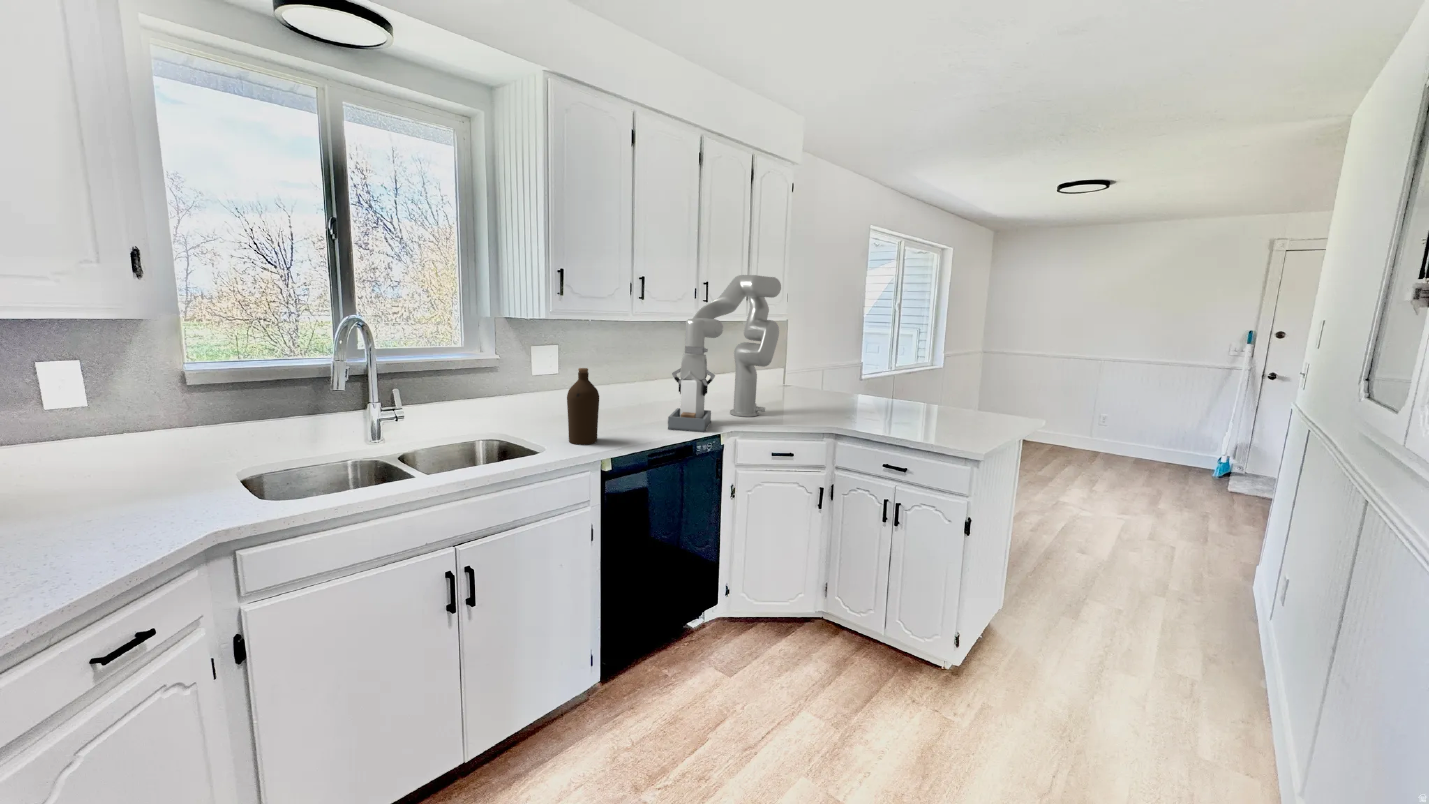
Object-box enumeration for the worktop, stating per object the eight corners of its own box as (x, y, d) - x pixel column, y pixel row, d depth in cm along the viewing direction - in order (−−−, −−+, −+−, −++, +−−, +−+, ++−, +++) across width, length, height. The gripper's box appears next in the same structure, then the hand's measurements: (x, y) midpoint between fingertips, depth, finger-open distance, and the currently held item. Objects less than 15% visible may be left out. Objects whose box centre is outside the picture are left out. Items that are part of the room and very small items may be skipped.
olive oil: (602, 444, 194) (602, 370, 189) (569, 446, 189) (569, 370, 185) (595, 436, 203) (595, 366, 199) (564, 438, 199) (564, 366, 195)
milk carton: (679, 417, 228) (681, 370, 225) (688, 415, 235) (690, 368, 231) (695, 420, 225) (697, 371, 222) (704, 417, 232) (705, 370, 228)
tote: (710, 422, 235) (711, 410, 234) (704, 432, 218) (704, 419, 217) (676, 420, 237) (677, 408, 236) (667, 429, 219) (668, 416, 218)
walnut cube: (695, 425, 225) (695, 412, 224) (693, 428, 220) (693, 415, 219) (682, 424, 225) (683, 412, 224) (680, 427, 220) (680, 414, 220)
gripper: (717, 351, 228) (715, 394, 231) (674, 348, 230) (673, 391, 233) (715, 353, 221) (713, 397, 224) (670, 350, 223) (669, 394, 226)
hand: (692, 394), depth 228 cm, fingers closed on milk carton, 8 cm apart
